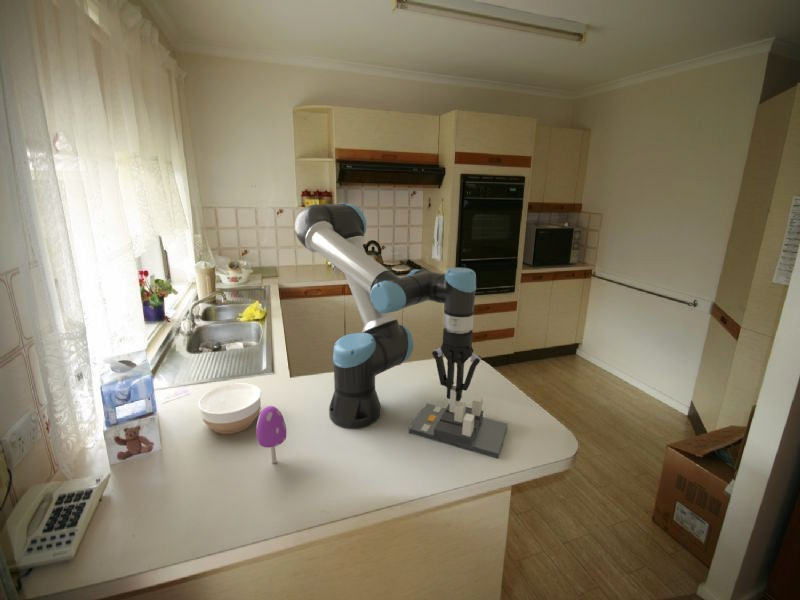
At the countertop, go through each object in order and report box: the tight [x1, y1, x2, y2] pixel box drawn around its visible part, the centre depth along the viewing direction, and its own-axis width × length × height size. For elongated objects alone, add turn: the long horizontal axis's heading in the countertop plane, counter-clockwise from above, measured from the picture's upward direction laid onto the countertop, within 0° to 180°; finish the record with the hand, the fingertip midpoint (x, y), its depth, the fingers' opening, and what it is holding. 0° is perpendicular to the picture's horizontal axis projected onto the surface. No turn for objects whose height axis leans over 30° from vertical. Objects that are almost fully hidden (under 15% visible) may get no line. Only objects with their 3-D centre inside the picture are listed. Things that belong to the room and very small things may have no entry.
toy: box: [255, 405, 287, 464], centre depth 92 cm, size 7×7×15 cm
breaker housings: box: [434, 394, 484, 446], centre depth 106 cm, size 10×14×7 cm
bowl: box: [197, 382, 262, 435], centre depth 108 cm, size 16×16×8 cm
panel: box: [408, 403, 509, 459], centre depth 107 cm, size 24×14×2 cm, turn 66°
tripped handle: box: [454, 400, 467, 423], centre depth 106 cm, size 2×3×4 cm
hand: (453, 409), depth 106 cm, fingers closed
